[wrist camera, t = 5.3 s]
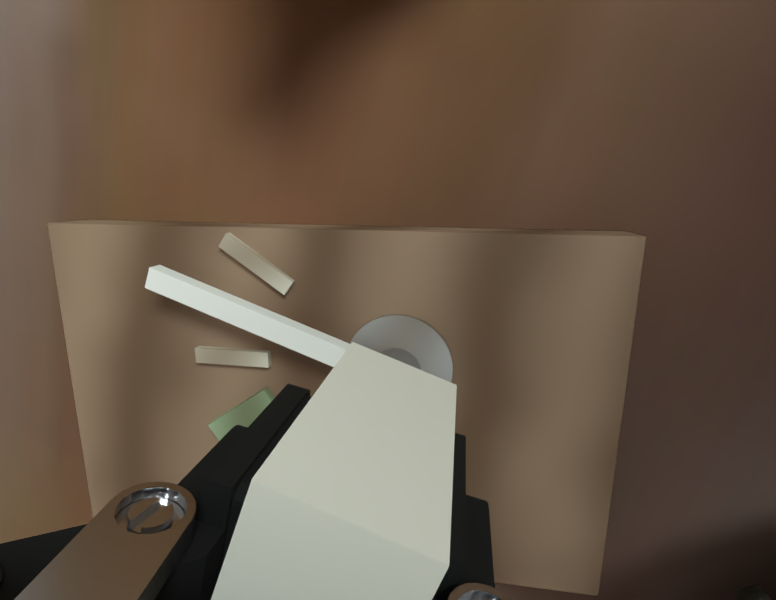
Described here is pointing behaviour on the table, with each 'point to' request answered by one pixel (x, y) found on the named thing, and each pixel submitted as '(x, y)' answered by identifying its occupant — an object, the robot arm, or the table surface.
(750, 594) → the ramen bowl
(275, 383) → the board
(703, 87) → the table surface
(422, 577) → the white angled piece
